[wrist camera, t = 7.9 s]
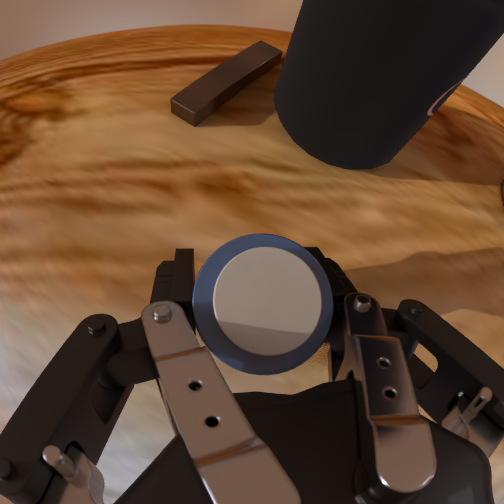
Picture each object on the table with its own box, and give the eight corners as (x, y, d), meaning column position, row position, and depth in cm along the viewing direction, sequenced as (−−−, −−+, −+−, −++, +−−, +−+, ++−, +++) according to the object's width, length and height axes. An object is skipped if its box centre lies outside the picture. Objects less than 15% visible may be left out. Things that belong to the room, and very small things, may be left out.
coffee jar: (389, 198, 21) (564, 30, 4) (253, 144, 20) (335, -120, 3) (392, 108, 24) (492, -31, 7) (286, 63, 24) (347, -107, 7)
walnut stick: (258, 52, 24) (260, 39, 22) (279, 63, 24) (283, 51, 22) (170, 112, 20) (169, 98, 19) (194, 127, 20) (194, 113, 19)
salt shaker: (229, 267, 17) (253, 199, 9) (291, 313, 17) (364, 284, 9) (181, 328, 16) (159, 312, 8) (245, 376, 16) (286, 406, 8)
